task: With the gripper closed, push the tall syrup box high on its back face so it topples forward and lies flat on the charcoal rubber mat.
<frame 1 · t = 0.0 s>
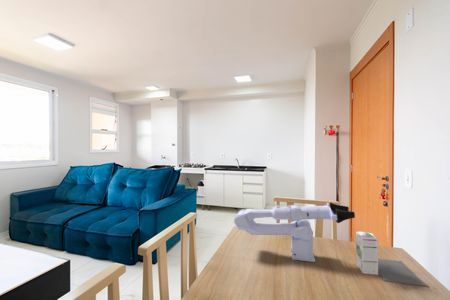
hand: (351, 211, 89), 22 cm above the table, tool horizontal, fingers open, 7 cm apart
syrup box: (366, 270, 83), on the table
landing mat: (393, 270, 82), on the table
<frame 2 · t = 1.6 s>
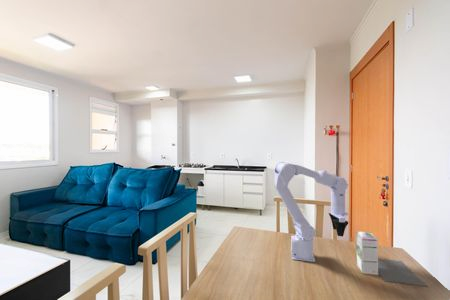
hand: (338, 232, 95), 10 cm above the table, tool pointing down, fingers open, 7 cm apart
nothing on the table moved.
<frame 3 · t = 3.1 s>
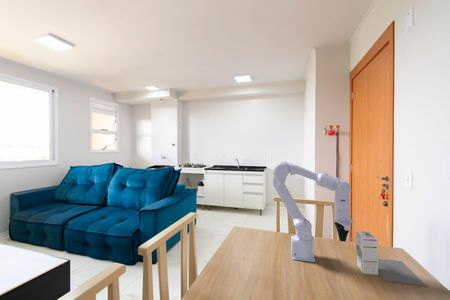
hand: (342, 240, 88), 10 cm above the table, tool pointing down, fingers closed
nothing on the table moved.
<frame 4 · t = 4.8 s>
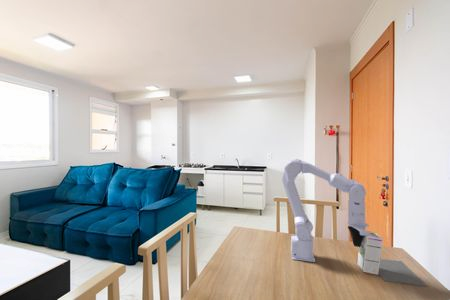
hand: (356, 245, 84), 9 cm above the table, tool pointing down, fingers closed
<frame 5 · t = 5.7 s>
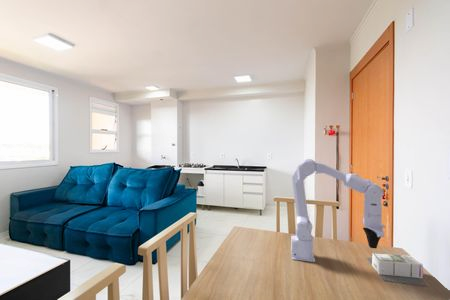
hand: (372, 247, 82), 9 cm above the table, tool pointing down, fingers closed
syrup box: (374, 263, 82), point 3 cm above the table, touching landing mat
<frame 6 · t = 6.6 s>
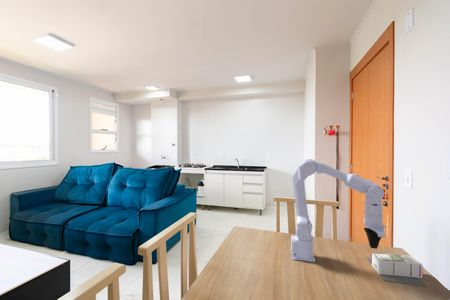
hand: (373, 247, 82), 9 cm above the table, tool pointing down, fingers closed
nothing on the table moved.
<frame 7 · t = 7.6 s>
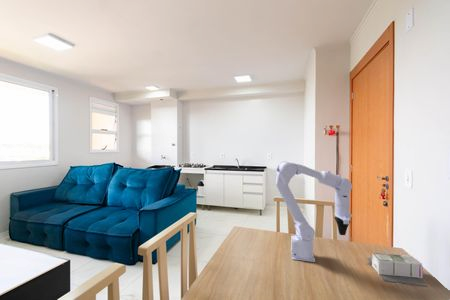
hand: (342, 234, 93), 10 cm above the table, tool pointing down, fingers closed
nothing on the table moved.
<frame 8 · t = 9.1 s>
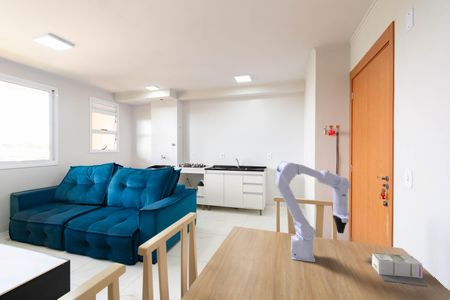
hand: (340, 232, 94), 10 cm above the table, tool pointing down, fingers closed
nothing on the table moved.
at the end: syrup box tilted 90°; syrup box touching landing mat; syrup box inside the target area (3.4 cm from its centre), point 3.3 cm above the table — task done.
